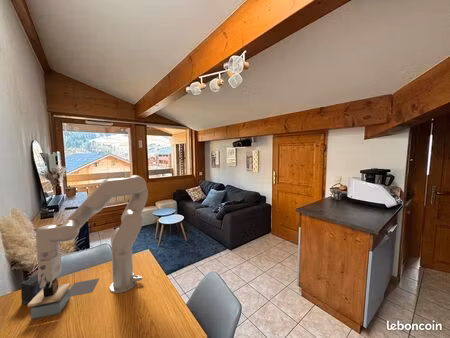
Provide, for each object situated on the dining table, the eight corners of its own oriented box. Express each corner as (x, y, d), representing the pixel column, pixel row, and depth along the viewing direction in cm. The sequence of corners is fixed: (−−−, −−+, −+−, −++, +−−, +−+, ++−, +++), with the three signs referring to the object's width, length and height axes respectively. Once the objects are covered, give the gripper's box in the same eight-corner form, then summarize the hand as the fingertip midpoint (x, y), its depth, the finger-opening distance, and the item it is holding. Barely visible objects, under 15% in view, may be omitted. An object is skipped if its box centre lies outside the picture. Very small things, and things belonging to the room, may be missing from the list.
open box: (70, 298, 94) (69, 288, 93) (60, 314, 84) (59, 303, 84) (44, 303, 90) (44, 293, 90) (31, 320, 81) (30, 309, 81)
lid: (70, 285, 94) (70, 273, 93) (59, 300, 83) (58, 287, 83) (42, 290, 90) (42, 277, 90) (27, 307, 80) (26, 293, 80)
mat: (99, 278, 109) (99, 278, 109) (92, 292, 97) (92, 292, 97) (74, 283, 105) (74, 282, 105) (63, 298, 94) (63, 297, 94)
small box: (31, 306, 89) (30, 284, 88) (20, 304, 90) (19, 283, 89) (55, 291, 99) (54, 271, 98) (45, 289, 100) (44, 270, 100)
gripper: (49, 261, 79) (51, 303, 80) (67, 244, 95) (69, 280, 96) (25, 264, 77) (28, 308, 78) (48, 246, 92) (50, 283, 93)
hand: (51, 292), depth 87 cm, fingers closed on lid, 3 cm apart
